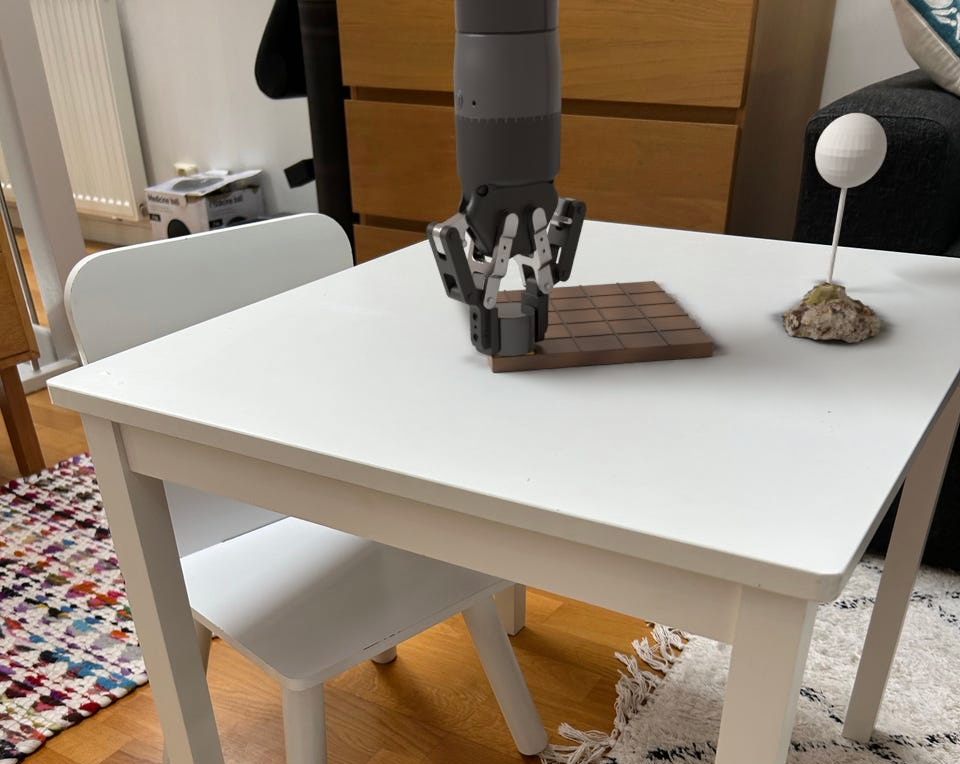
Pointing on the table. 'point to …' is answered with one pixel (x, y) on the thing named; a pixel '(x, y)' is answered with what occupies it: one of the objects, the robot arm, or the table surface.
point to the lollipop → (849, 159)
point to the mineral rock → (831, 316)
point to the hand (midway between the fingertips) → (510, 345)
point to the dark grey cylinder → (515, 329)
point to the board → (608, 328)
